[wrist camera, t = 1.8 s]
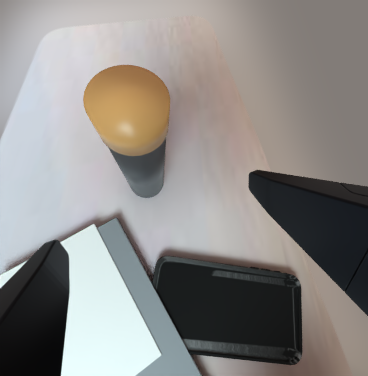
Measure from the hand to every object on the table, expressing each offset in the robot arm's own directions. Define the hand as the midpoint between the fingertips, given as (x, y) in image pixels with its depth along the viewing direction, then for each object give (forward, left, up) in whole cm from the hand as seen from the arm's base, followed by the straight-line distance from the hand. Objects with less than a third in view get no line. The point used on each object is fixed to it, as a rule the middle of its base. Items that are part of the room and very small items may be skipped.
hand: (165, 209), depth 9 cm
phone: (-10, -2, -12) cm, 16 cm away
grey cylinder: (+5, -1, -12) cm, 13 cm away
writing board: (-6, +9, -12) cm, 16 cm away
